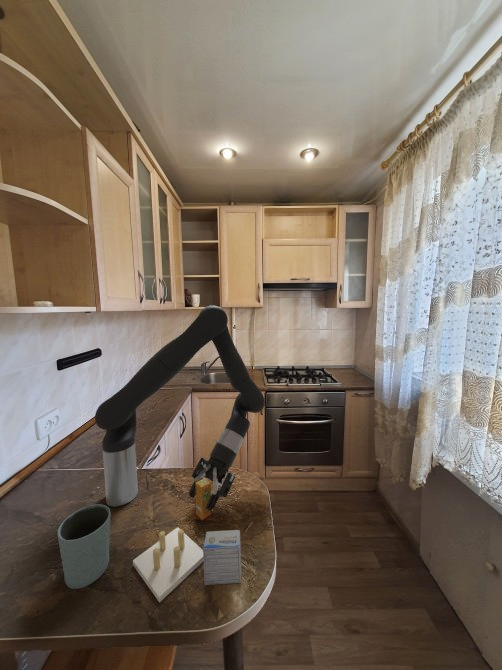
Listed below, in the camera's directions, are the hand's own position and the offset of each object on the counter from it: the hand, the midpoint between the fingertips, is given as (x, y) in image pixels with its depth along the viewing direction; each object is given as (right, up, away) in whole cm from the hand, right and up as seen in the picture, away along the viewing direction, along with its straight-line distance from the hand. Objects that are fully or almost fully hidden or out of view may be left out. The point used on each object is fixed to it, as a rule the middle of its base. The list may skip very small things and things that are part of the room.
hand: (199, 502), depth 71 cm
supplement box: (+1, -5, +1) cm, 5 cm away
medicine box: (+9, -6, -16) cm, 19 cm away
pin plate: (-4, -5, -12) cm, 14 cm away
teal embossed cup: (-23, -6, -14) cm, 27 cm away
